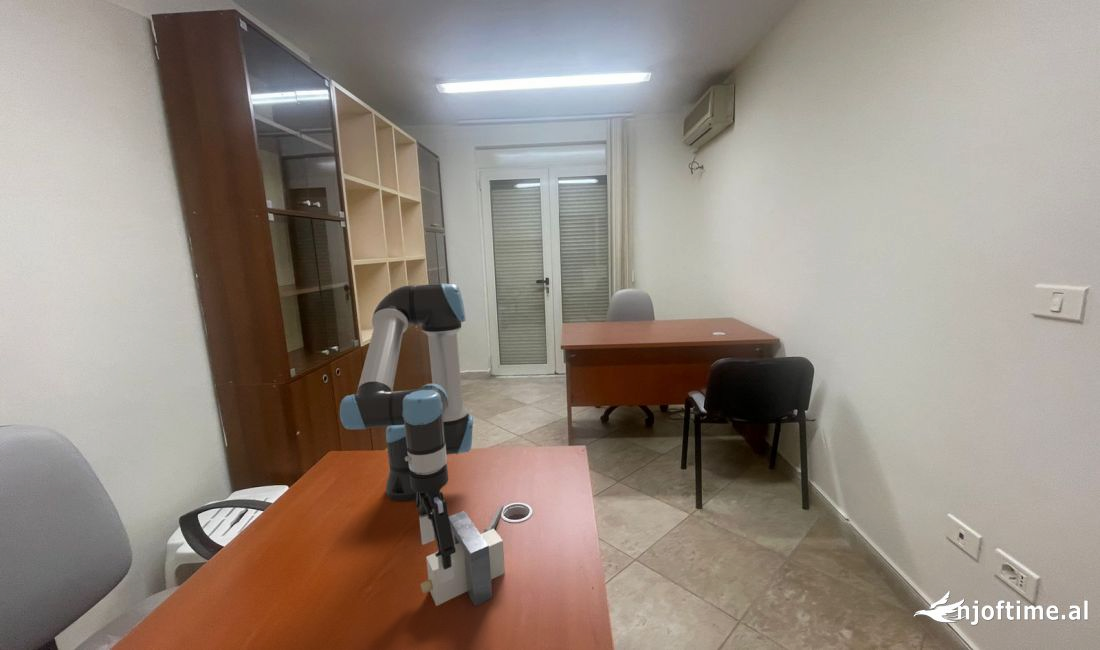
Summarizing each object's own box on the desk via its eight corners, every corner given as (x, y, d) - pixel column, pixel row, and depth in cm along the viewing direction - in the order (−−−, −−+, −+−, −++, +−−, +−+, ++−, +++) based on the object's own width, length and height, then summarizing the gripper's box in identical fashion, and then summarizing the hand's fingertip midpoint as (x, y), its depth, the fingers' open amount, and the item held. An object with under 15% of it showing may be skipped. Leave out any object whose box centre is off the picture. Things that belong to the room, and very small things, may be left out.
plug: (420, 594, 89) (416, 560, 88) (495, 560, 98) (493, 528, 97) (426, 611, 85) (423, 575, 83) (505, 573, 94) (502, 540, 93)
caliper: (487, 559, 99) (485, 535, 98) (483, 558, 99) (481, 535, 98) (503, 507, 119) (502, 488, 118) (500, 507, 119) (498, 488, 118)
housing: (452, 564, 98) (447, 516, 95) (468, 557, 100) (464, 510, 97) (474, 606, 85) (470, 553, 83) (492, 597, 87) (488, 545, 85)
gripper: (396, 449, 92) (405, 534, 96) (426, 501, 71) (436, 608, 75) (429, 440, 96) (437, 522, 99) (467, 487, 75) (475, 589, 78)
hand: (437, 559), depth 87 cm, fingers open, 13 cm apart
